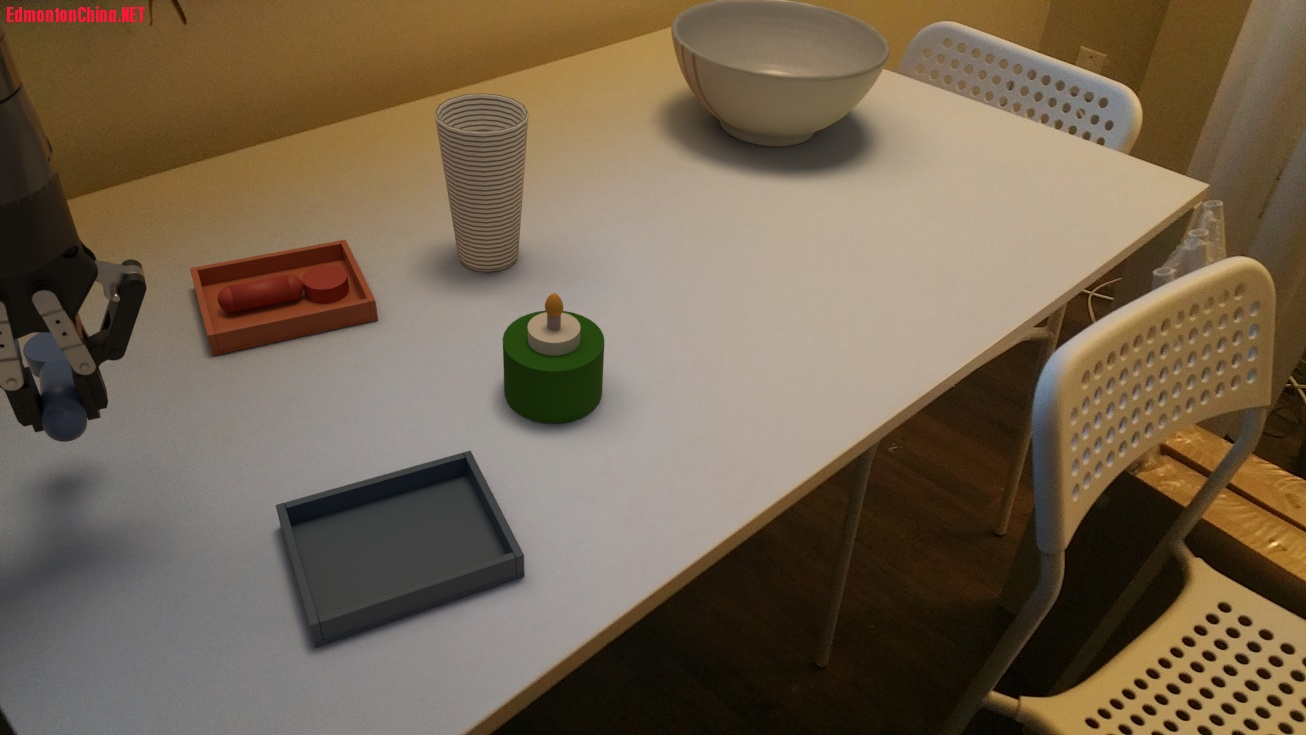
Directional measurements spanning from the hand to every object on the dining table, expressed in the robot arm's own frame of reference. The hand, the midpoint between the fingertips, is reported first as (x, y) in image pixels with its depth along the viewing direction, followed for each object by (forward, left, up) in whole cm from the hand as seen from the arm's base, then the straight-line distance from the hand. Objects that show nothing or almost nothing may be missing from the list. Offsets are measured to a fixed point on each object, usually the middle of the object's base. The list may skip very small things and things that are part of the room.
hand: (68, 416), depth 63 cm
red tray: (+16, +23, -10) cm, 30 cm away
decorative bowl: (+80, +41, -10) cm, 90 cm away
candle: (+34, +2, -10) cm, 36 cm away
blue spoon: (0, +3, 0) cm, 3 cm away
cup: (+36, +24, -10) cm, 44 cm away
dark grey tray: (+18, -10, -10) cm, 23 cm away
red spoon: (+16, +23, -10) cm, 30 cm away
